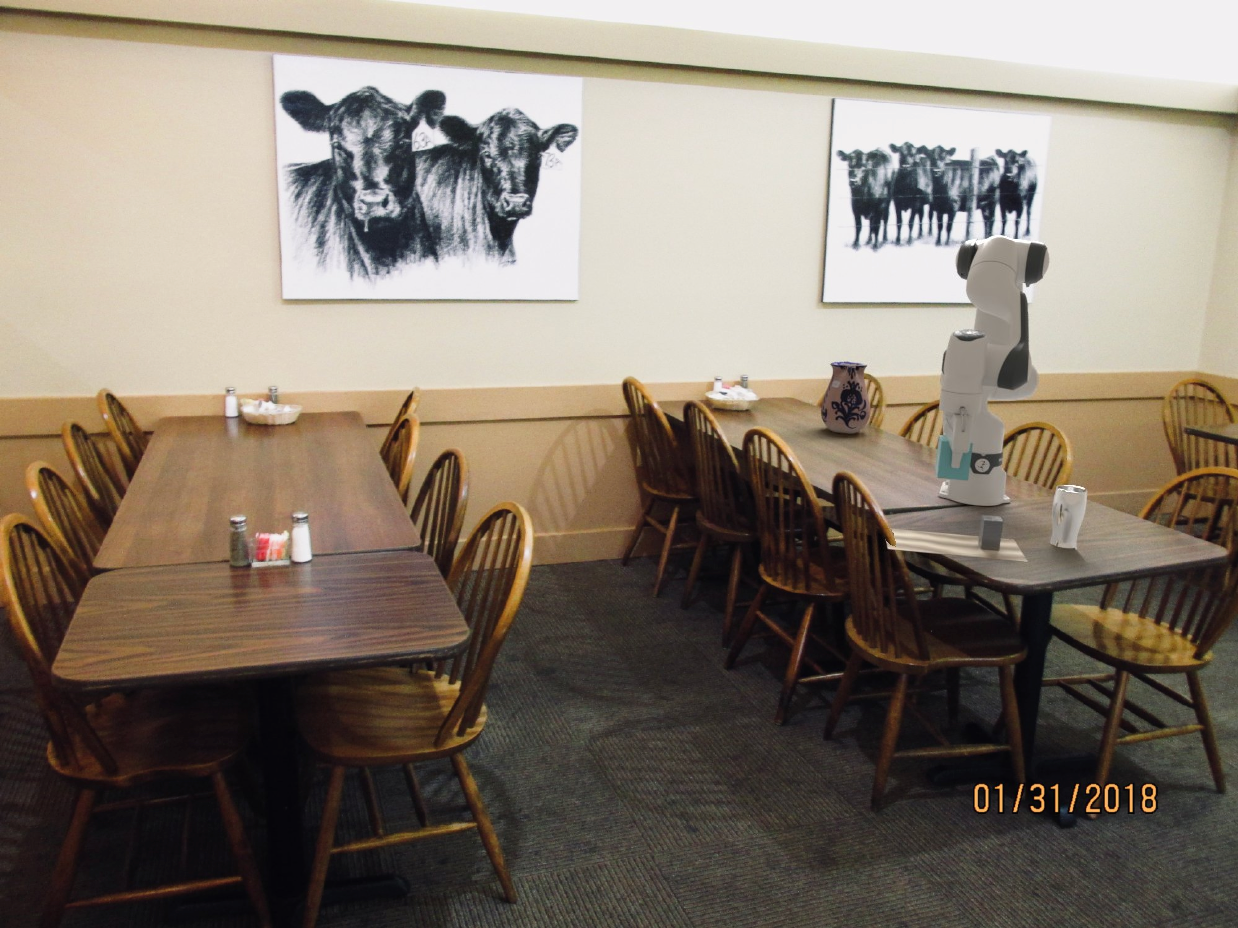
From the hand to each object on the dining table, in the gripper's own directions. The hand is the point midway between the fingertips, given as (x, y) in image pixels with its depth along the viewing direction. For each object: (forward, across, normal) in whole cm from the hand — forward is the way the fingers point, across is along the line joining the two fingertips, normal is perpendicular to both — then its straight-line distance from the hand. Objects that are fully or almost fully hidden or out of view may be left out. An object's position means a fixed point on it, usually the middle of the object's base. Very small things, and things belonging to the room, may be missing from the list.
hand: (952, 463), depth 217 cm
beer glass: (+21, +8, -28) cm, 36 cm away
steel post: (+19, 0, -10) cm, 22 cm away
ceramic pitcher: (+22, +131, +22) cm, 135 cm away
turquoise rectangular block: (+3, 0, 0) cm, 3 cm away
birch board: (+21, 0, -2) cm, 21 cm away
